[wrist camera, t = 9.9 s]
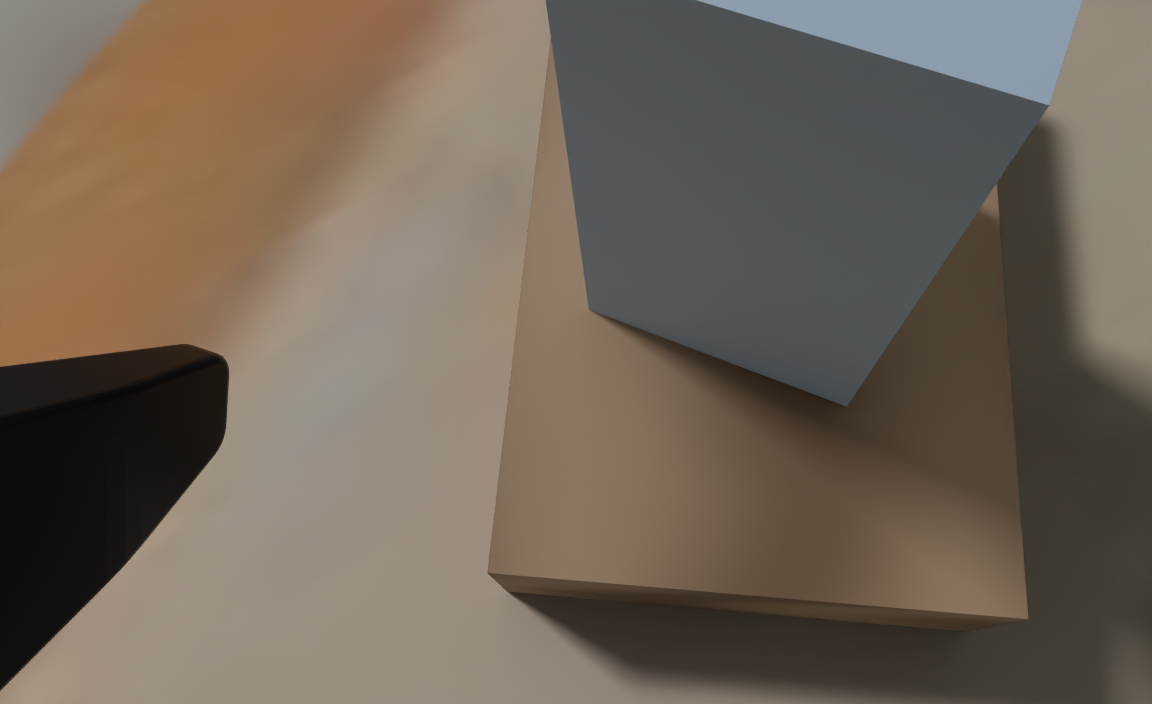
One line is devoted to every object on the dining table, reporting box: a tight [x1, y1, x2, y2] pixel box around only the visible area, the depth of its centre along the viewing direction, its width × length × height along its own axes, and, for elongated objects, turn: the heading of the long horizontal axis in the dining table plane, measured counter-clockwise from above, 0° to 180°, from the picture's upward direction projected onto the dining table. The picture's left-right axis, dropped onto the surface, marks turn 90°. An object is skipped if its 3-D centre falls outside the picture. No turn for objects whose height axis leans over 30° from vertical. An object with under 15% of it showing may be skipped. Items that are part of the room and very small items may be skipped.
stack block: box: [488, 40, 1028, 632], centre depth 20 cm, size 9×13×4 cm
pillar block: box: [546, 0, 1082, 407], centre depth 14 cm, size 5×5×9 cm
